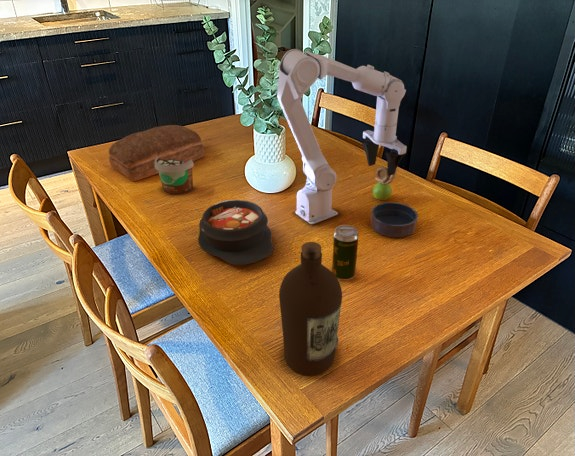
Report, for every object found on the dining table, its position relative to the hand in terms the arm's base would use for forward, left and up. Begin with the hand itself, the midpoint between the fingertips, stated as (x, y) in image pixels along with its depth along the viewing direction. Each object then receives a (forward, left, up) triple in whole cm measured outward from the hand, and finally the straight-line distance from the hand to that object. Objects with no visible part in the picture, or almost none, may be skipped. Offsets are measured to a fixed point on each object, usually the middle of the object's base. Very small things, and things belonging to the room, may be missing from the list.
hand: (381, 169), depth 128 cm
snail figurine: (+2, 0, -11) cm, 11 cm away
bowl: (-6, -12, -10) cm, 17 cm away
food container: (-46, +41, -11) cm, 62 cm away
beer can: (-30, -20, -11) cm, 37 cm away
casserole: (-44, +6, -11) cm, 46 cm away
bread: (-42, +64, -11) cm, 77 cm away
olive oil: (-51, -35, -11) cm, 63 cm away
